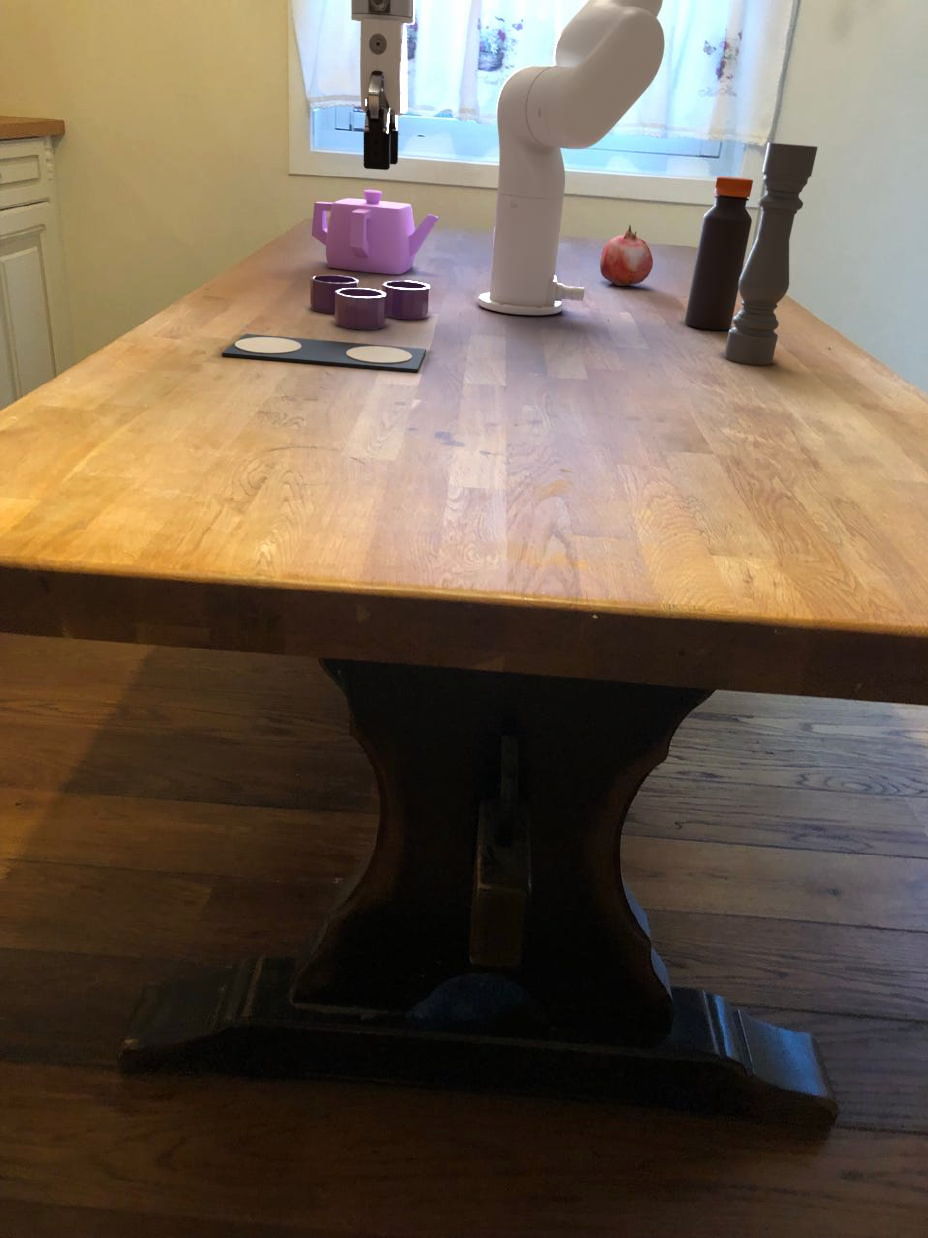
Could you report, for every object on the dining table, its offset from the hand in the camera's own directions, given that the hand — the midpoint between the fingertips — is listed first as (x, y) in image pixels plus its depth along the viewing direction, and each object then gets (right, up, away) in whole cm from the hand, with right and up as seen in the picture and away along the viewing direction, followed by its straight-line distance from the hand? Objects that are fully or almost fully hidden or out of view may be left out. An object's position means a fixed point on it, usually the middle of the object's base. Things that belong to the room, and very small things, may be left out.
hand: (381, 166), depth 121 cm
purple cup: (-8, -14, +12) cm, 20 cm away
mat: (-5, -27, -11) cm, 30 cm away
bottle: (+47, -15, +20) cm, 53 cm away
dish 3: (+2, -15, +12) cm, 19 cm away
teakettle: (-5, +4, +46) cm, 47 cm away
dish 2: (-3, -19, +4) cm, 20 cm away
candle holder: (+47, -24, +2) cm, 53 cm away
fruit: (+39, +2, +48) cm, 62 cm away
